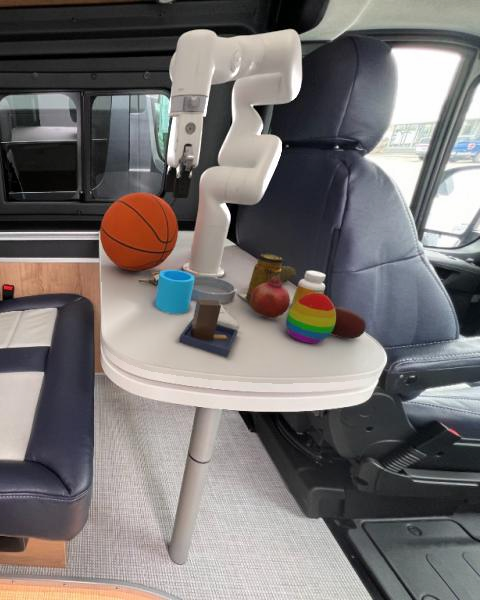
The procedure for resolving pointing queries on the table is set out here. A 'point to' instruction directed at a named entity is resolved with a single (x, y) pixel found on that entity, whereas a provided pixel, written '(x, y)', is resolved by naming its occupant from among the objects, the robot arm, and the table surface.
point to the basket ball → (139, 231)
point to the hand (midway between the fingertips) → (175, 194)
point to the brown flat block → (206, 320)
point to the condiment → (263, 272)
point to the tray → (211, 346)
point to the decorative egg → (311, 318)
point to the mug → (174, 291)
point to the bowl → (212, 289)
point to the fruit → (270, 299)
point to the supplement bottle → (309, 285)
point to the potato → (348, 324)
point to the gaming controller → (226, 319)
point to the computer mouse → (155, 278)
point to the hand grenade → (286, 273)
